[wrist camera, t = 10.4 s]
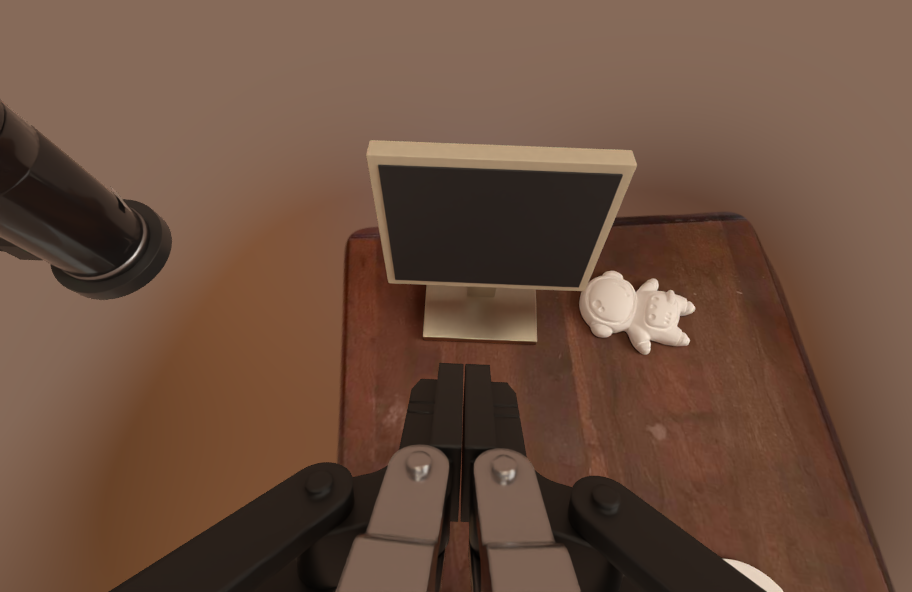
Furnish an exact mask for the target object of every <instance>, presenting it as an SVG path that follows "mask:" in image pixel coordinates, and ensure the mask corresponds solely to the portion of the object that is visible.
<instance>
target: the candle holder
mask: <svg viewBox="0 0 912 592" xmlns="http://www.w3.org/2000/svg"><path fill="white" fill-rule="evenodd" d="M723 560H725V561H726V562H727V563H729V564H730V565H731V566H733V567H734V568H736V569H737V570H738V571H740V572H741V573H742V574H744V575H745V576H746V577H748V578H749V579H750V580H752V581H753V582H754V583H756V584H757V585H759V586H760V587H761V588H763V589H764V590H765V591H767V592H783V590H782V589H781V588H780V587H779V586H778V585H777V584H776V583H775V582H774V581H773V580H772V579H770V578H769V577H768V576H767V575H765V574H764V573H762V572H761V571H759V570H758V569H756V568H754V567H752V566H750V565H748V564H745V563H743V562H740V561H736V560H731V559H723Z"/></svg>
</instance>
